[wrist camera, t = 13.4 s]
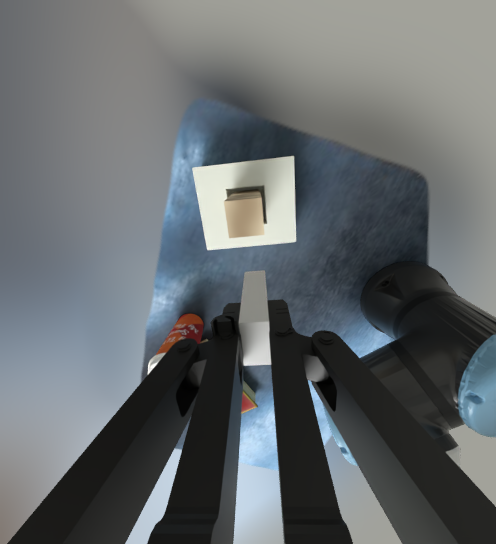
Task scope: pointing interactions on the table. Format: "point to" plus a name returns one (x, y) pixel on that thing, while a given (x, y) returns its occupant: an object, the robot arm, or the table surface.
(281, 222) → the socket block
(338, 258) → the table surface
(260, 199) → the maple peg
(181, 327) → the paper cup
